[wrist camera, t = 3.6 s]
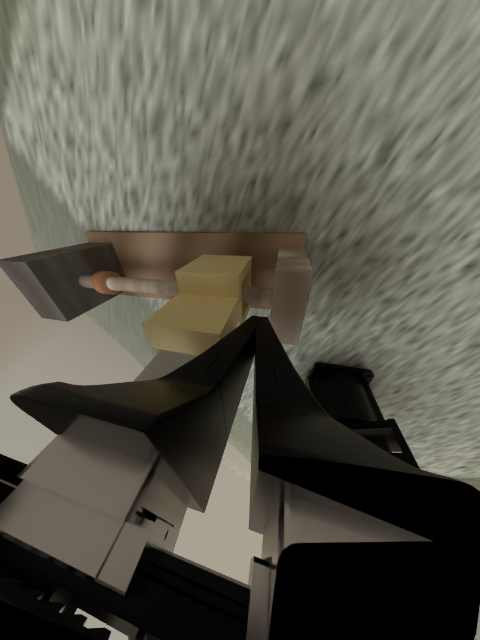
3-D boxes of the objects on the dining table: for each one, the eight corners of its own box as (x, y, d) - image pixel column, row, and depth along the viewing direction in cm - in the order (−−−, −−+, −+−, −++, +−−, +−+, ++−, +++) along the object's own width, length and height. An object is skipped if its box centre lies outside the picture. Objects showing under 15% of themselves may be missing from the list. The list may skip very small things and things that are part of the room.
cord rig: (306, 233, 14) (322, 258, 7) (292, 307, 18) (295, 366, 11) (91, 231, 18) (-17, 245, 12) (118, 291, 22) (49, 326, 16)
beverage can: (158, 338, 26) (80, 419, 16) (197, 342, 24) (136, 433, 14) (171, 367, 29) (114, 447, 19) (205, 371, 28) (162, 461, 18)
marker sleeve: (251, 256, 13) (216, 306, 7) (250, 305, 16) (224, 377, 9) (203, 254, 14) (130, 297, 7) (209, 302, 16) (159, 365, 10)
